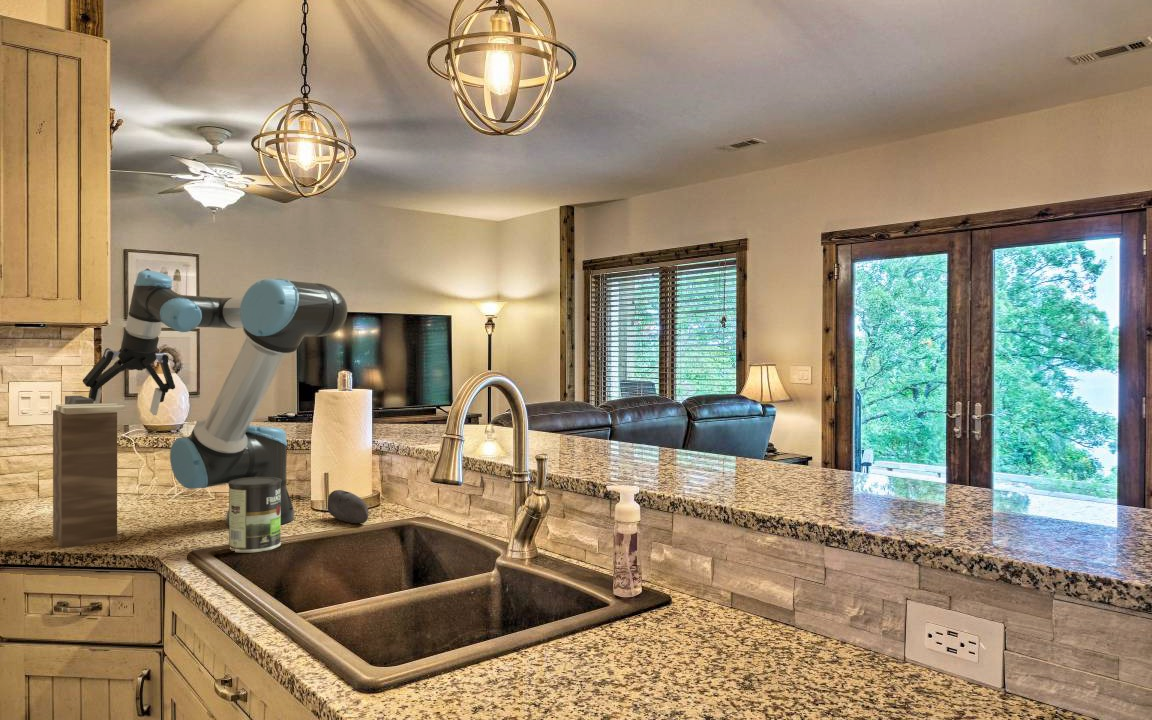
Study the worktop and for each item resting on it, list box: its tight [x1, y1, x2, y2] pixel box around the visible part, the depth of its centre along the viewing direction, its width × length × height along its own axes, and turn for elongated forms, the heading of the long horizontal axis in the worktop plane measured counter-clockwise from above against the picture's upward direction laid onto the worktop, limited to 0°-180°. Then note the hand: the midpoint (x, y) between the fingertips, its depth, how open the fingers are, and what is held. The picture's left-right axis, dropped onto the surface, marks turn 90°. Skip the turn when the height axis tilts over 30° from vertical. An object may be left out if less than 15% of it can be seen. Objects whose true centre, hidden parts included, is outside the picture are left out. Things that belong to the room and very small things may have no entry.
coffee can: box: [227, 477, 282, 554], centre depth 159 cm, size 10×10×14 cm
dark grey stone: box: [326, 489, 370, 524], centre depth 183 cm, size 15×5×7 cm, turn 45°
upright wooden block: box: [52, 409, 118, 549], centre depth 164 cm, size 12×10×28 cm
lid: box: [55, 395, 127, 414], centre depth 165 cm, size 29×11×2 cm, turn 42°
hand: (123, 413), depth 188 cm, fingers open, 13 cm apart
